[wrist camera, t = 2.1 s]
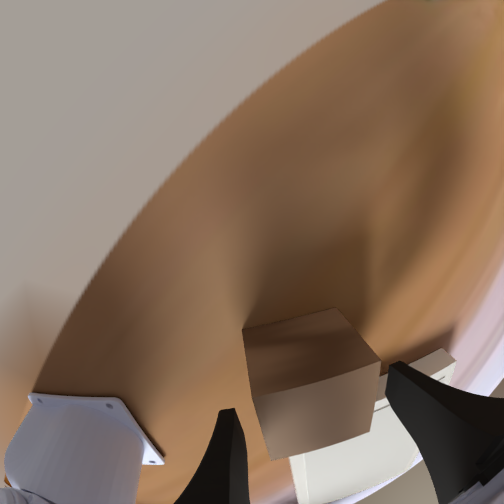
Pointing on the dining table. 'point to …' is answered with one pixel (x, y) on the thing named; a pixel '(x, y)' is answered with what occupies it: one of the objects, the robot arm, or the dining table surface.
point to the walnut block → (310, 382)
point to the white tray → (365, 448)
